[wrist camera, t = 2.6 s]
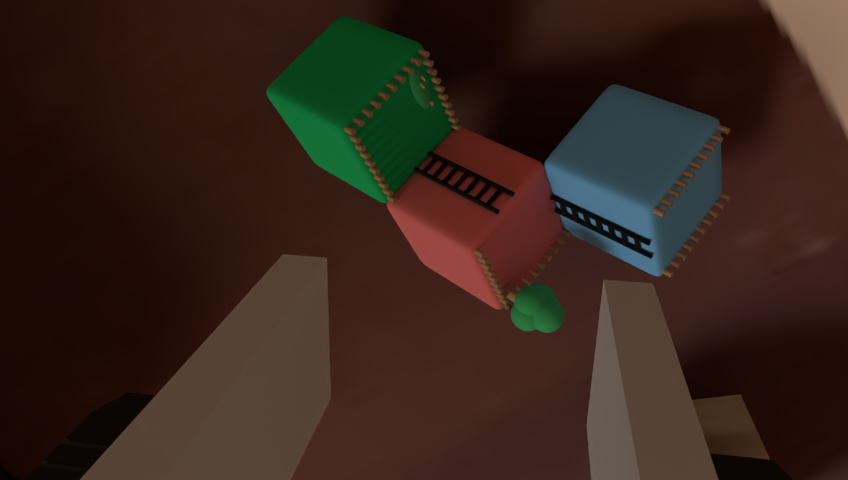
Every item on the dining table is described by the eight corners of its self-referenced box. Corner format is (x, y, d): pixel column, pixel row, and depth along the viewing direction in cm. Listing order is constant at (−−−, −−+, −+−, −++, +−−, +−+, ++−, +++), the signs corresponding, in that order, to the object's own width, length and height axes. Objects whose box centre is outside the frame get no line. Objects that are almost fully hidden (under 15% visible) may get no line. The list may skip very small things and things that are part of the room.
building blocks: (474, 93, 32) (733, 197, 25) (351, 229, 30) (595, 383, 23) (413, -62, 26) (733, 18, 19) (254, 95, 24) (544, 250, 17)
